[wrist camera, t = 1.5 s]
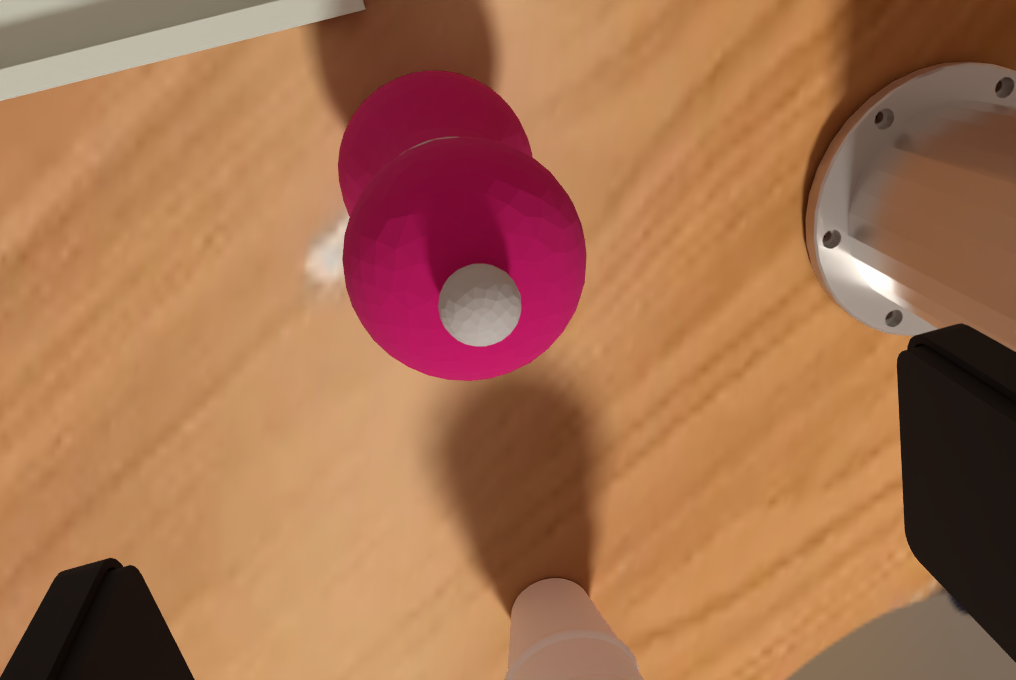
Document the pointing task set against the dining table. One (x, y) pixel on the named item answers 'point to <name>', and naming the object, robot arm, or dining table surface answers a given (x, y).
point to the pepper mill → (455, 230)
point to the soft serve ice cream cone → (564, 637)
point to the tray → (132, 33)
